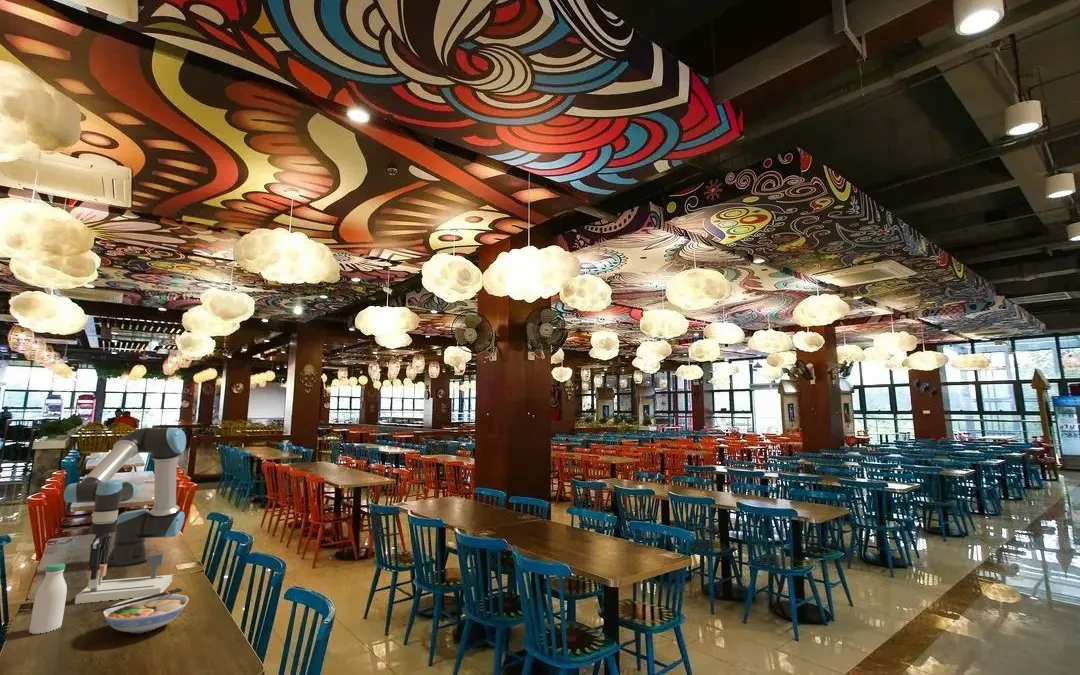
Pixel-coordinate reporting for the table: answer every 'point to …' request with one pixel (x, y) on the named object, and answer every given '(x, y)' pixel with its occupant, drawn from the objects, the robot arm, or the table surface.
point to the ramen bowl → (145, 612)
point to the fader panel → (125, 589)
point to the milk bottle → (49, 601)
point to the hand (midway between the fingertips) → (94, 586)
